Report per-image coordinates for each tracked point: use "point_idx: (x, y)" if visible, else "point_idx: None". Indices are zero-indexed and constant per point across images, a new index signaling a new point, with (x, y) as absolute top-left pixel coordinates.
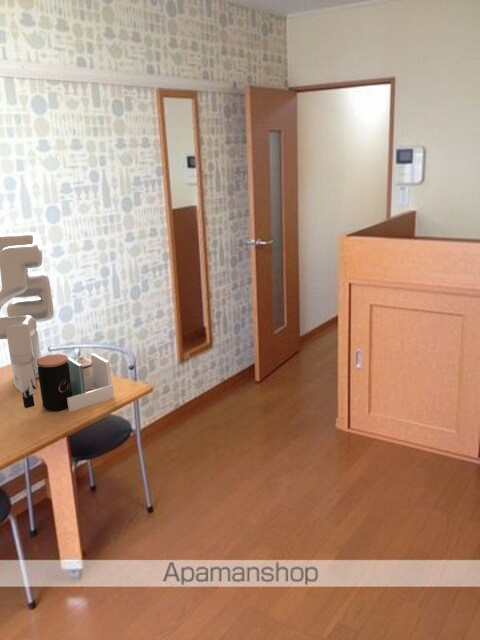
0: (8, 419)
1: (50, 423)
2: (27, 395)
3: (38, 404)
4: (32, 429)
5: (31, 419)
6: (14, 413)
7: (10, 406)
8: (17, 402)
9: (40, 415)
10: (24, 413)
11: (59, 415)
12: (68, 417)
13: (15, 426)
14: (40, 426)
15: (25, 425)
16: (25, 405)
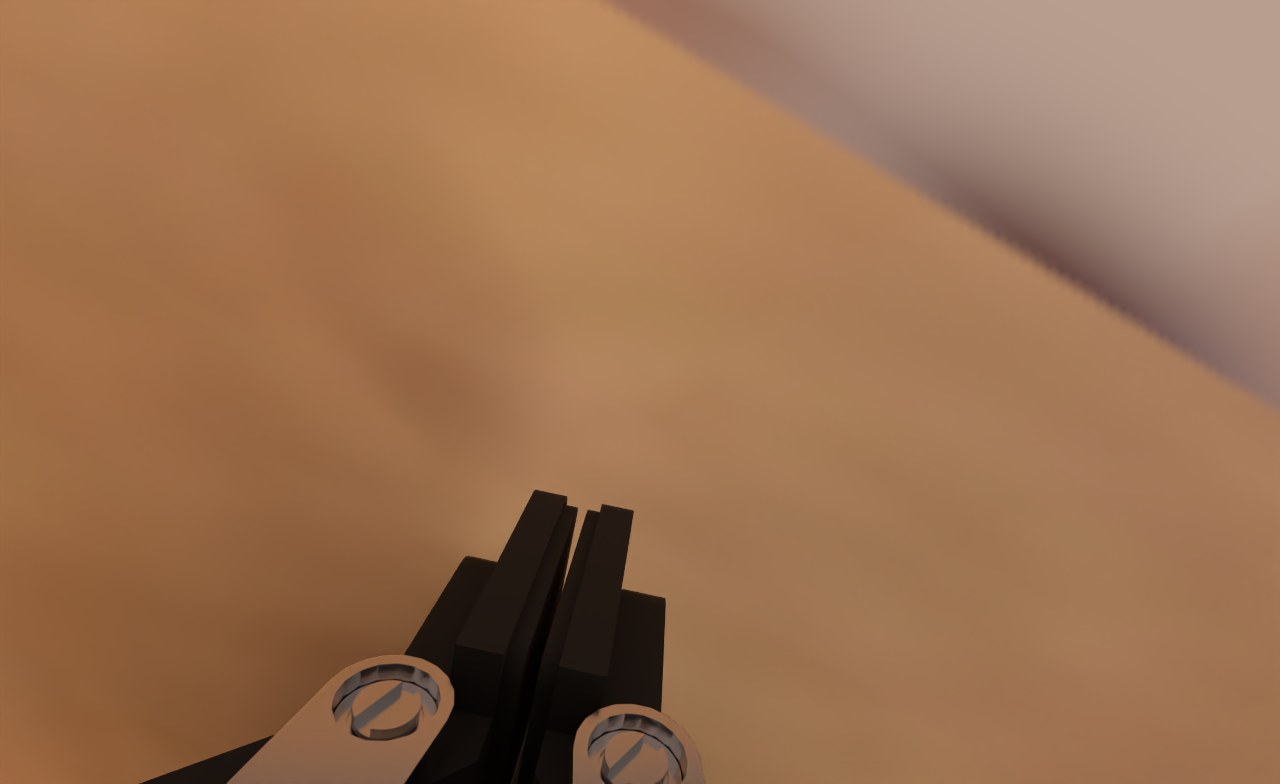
0: (740, 153)
1: (60, 494)
2: (206, 777)
3: (824, 755)
4: (31, 206)
5: (407, 405)
6: (874, 364)
7: (1209, 480)
8: (1226, 632)
9: (435, 563)
10: (717, 464)
11: (228, 703)
12: (83, 728)
13: (352, 74)
14: (57, 348)
15: (261, 216)
16: (518, 521)
